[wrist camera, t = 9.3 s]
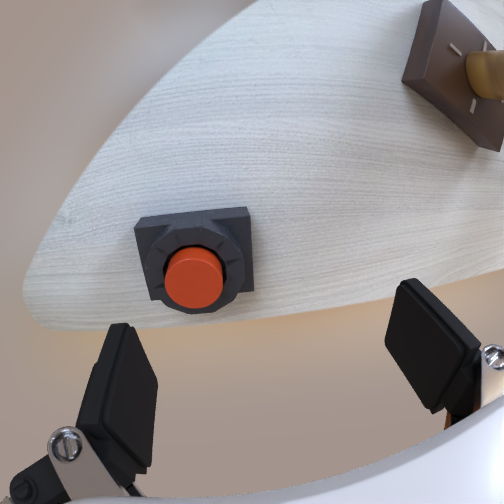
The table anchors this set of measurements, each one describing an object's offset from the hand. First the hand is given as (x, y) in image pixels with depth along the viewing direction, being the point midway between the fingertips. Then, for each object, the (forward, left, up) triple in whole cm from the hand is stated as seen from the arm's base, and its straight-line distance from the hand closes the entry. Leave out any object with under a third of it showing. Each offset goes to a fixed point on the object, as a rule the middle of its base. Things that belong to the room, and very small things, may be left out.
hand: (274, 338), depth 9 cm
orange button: (-2, -4, -10) cm, 11 cm away
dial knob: (+14, +20, -10) cm, 27 cm away
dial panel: (+14, +20, -13) cm, 28 cm away
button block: (-2, -4, -13) cm, 14 cm away
